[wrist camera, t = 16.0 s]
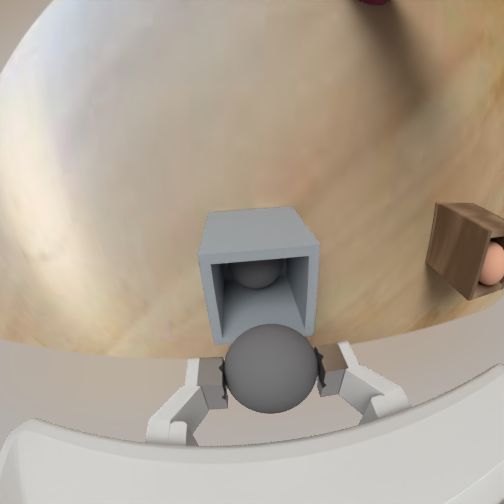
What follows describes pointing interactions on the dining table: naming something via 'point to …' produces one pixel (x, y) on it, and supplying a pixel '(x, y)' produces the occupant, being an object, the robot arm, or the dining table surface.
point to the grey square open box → (252, 249)
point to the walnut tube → (464, 246)
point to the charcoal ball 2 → (270, 368)
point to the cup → (375, 1)
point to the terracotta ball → (493, 265)
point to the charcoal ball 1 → (256, 272)
